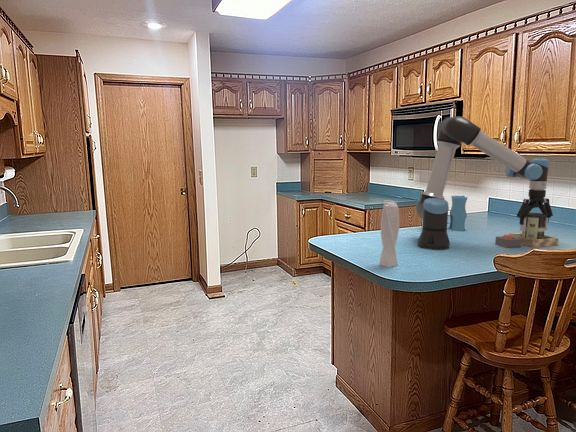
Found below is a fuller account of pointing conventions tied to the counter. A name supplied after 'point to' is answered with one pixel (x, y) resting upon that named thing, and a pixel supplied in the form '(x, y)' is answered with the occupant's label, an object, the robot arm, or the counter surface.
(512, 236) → the button
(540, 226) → the coffee can
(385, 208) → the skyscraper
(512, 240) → the button box
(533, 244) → the woven basket tray
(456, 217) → the vase
